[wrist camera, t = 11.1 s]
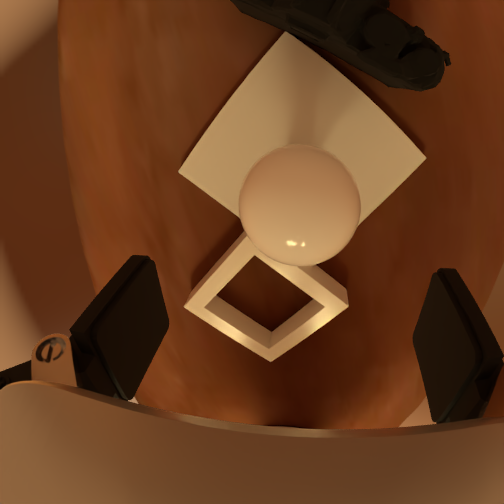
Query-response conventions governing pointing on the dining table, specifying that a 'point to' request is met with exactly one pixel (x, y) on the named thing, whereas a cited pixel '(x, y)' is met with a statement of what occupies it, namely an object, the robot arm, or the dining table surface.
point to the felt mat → (301, 128)
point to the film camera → (359, 37)
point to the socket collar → (247, 330)
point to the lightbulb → (299, 205)
